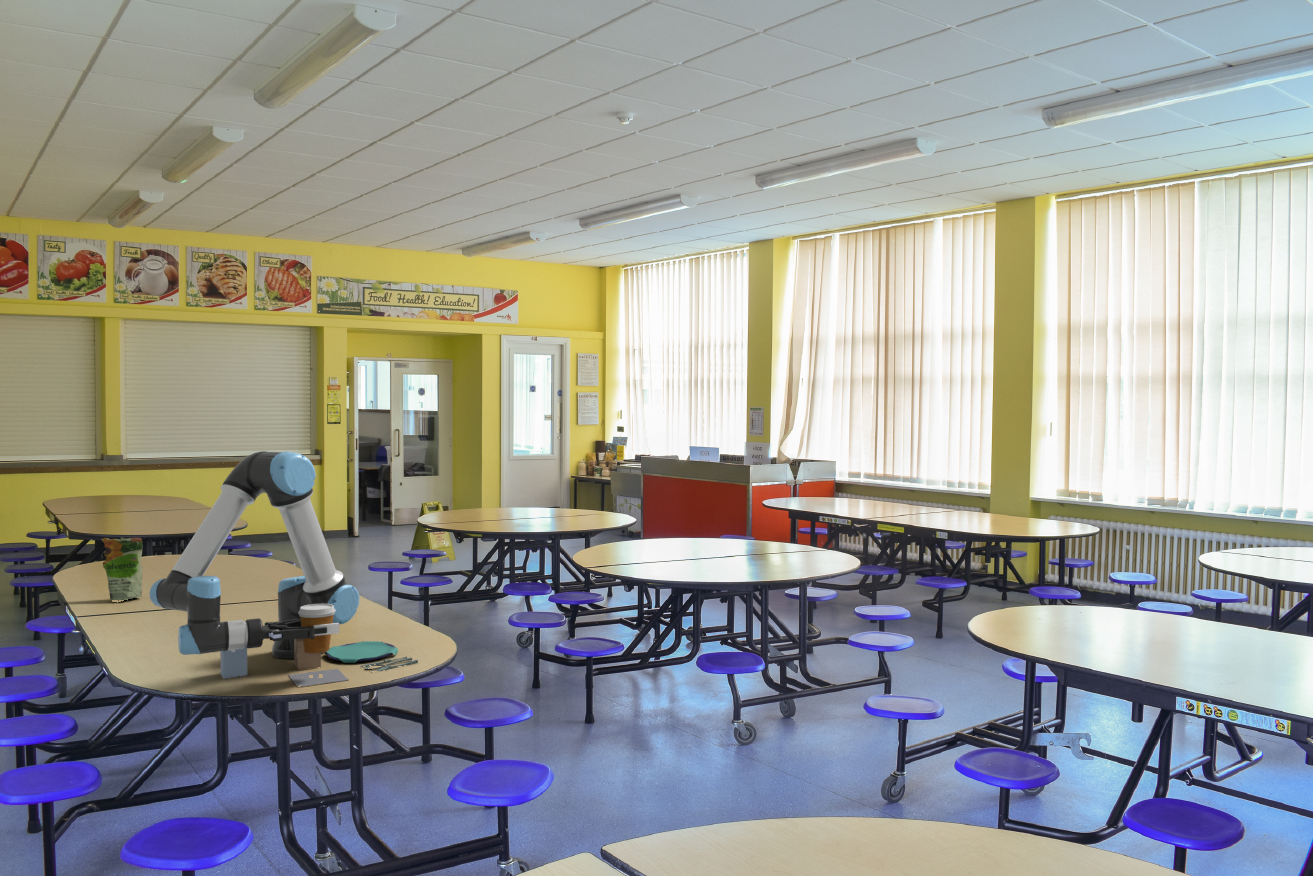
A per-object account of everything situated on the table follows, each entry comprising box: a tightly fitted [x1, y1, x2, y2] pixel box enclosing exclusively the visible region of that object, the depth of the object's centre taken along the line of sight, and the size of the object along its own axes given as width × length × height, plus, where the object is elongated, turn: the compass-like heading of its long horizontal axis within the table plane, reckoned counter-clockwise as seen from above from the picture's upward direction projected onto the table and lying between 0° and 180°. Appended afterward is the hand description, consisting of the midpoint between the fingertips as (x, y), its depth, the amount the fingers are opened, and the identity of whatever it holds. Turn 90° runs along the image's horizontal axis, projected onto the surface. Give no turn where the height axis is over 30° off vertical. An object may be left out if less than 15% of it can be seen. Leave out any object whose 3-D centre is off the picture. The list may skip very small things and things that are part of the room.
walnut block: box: [294, 639, 322, 671], centre depth 260 cm, size 6×6×8 cm
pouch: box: [101, 536, 144, 601], centre depth 352 cm, size 11×12×25 cm
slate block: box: [219, 646, 248, 679], centre depth 252 cm, size 6×6×8 cm
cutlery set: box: [324, 640, 419, 672], centre depth 269 cm, size 20×30×2 cm, turn 43°
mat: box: [288, 668, 349, 688], centre depth 248 cm, size 13×13×1 cm
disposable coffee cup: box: [298, 604, 336, 654], centre depth 248 cm, size 10×10×12 cm
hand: (335, 625), depth 250 cm, fingers closed on disposable coffee cup, 8 cm apart
